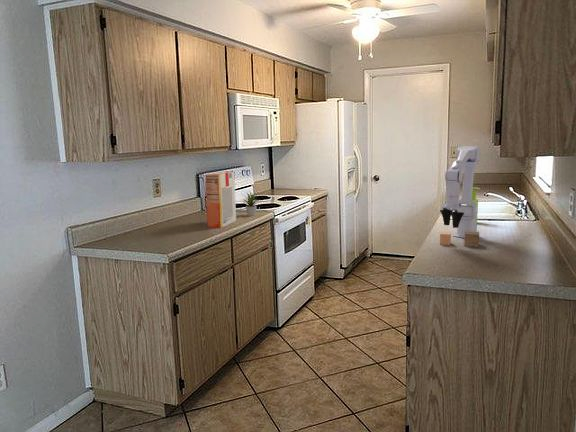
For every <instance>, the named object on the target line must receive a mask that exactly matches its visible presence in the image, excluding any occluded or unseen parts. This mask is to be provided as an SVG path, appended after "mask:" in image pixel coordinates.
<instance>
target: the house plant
mask: <svg viewBox="0 0 576 432" xmlns="http://www.w3.org/2000/svg"><path fill="white" fill-rule="evenodd" d="M249 193H250V194H249ZM249 193H248V192H246V195H247V196H246V195H244V194H242V196H243V197H245V199H243V203H244V204H246V205H245V210H246V214H247V215H246V216H248V217H255V216H256V214H257V213H256V212H257V205H256V203H258V202H260V200H261V199H257V198H258V197H259V196H260V194H261V193H263V192H258V193H256V192H253V193H252V192H251V191H249Z"/></svg>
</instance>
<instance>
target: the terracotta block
mask: <svg viewBox="0 0 576 432" xmlns="http://www.w3.org/2000/svg"><path fill="white" fill-rule="evenodd" d="M451 239H452V233H451V232H446V231H445V232H444V231H441V232H440V233H439V245H440V246H451Z"/></svg>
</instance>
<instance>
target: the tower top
mask: <svg viewBox="0 0 576 432" xmlns="http://www.w3.org/2000/svg"><path fill="white" fill-rule="evenodd" d="M464 239H465V240H471V241H479V242H480V232H479V231H477V232H474V231H465V238H464Z"/></svg>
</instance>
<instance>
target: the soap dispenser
mask: <svg viewBox="0 0 576 432" xmlns="http://www.w3.org/2000/svg"><path fill="white" fill-rule="evenodd" d="M475 190H481V188H480V187H475V186H474V187H473V189H472V200H474V201H475V202H476V203H477V213H478V210H479V208H478V207H479V199H477V193H476V192H475ZM468 206H472V205H468ZM475 220H476V222H477V223H478V215H477V216H476V218H475Z"/></svg>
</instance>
